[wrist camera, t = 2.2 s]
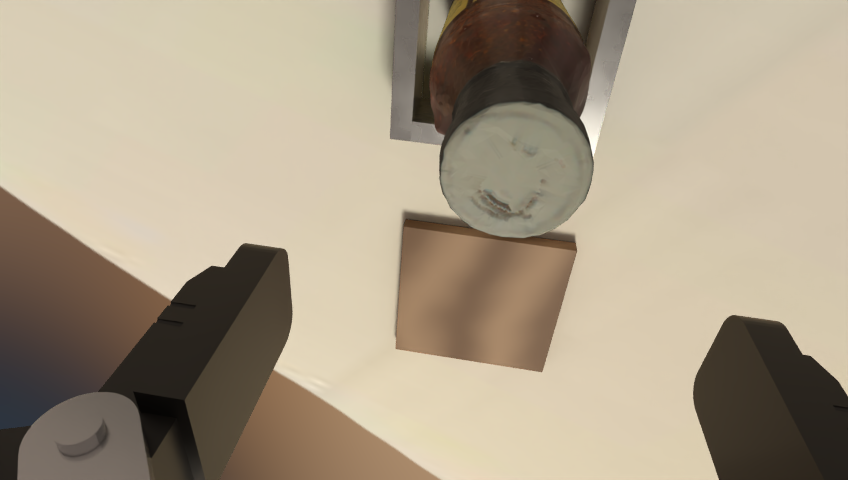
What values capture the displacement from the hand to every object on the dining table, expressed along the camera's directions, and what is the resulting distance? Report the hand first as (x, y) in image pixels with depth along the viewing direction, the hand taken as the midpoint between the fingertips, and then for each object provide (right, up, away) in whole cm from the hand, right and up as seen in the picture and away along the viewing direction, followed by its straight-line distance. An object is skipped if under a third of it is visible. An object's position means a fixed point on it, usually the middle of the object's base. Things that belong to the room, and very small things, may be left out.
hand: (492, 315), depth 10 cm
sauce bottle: (+3, +14, +21) cm, 25 cm away
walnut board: (+3, -3, +32) cm, 32 cm away
